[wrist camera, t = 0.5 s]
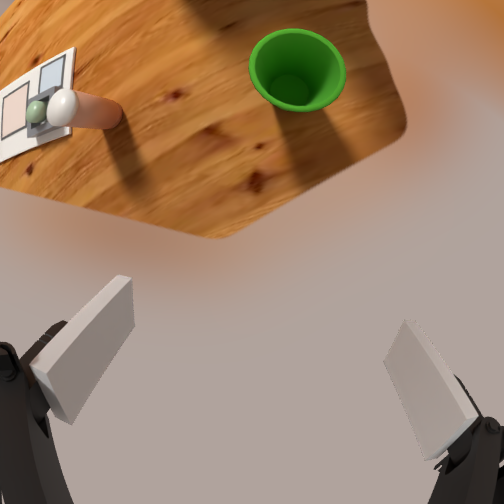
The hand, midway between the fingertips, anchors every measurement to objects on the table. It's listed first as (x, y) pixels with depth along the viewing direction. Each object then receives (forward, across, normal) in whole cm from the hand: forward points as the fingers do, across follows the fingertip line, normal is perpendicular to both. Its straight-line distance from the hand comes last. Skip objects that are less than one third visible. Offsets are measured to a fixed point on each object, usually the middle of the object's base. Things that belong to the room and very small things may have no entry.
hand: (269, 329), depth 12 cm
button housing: (+26, -38, +12) cm, 47 cm away
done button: (+23, -38, +13) cm, 46 cm away
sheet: (+26, -45, +14) cm, 54 cm away
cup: (+26, 0, +16) cm, 31 cm away
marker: (+26, -24, +11) cm, 37 cm away
